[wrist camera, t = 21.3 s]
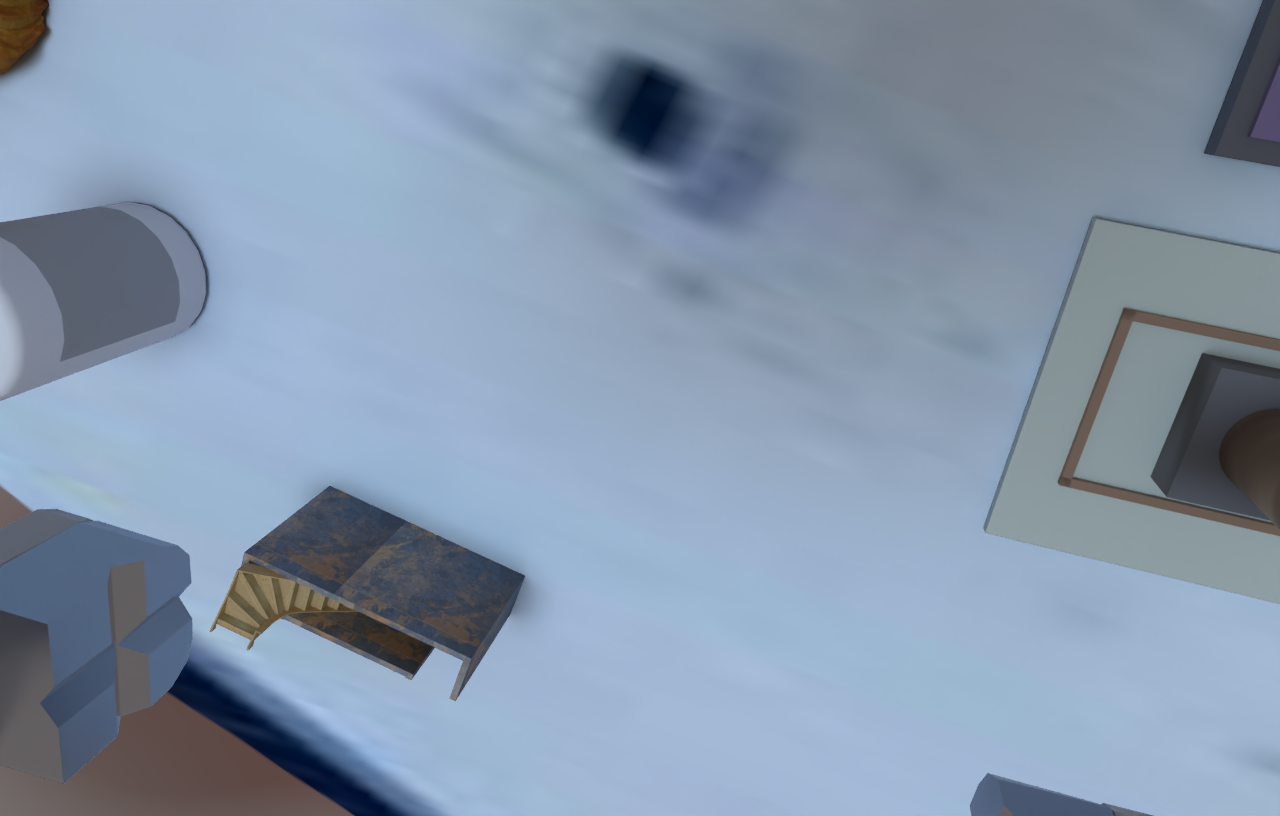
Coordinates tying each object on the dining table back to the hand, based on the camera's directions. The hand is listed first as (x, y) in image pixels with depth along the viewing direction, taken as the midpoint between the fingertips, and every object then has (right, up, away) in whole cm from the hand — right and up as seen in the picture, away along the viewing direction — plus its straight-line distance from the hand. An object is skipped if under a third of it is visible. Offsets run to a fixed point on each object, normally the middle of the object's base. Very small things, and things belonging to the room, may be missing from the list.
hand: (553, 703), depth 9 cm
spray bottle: (-24, +10, +36) cm, 44 cm away
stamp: (+25, +2, +27) cm, 37 cm away
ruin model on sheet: (-11, -4, +39) cm, 40 cm away
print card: (+25, +2, +27) cm, 37 cm away
